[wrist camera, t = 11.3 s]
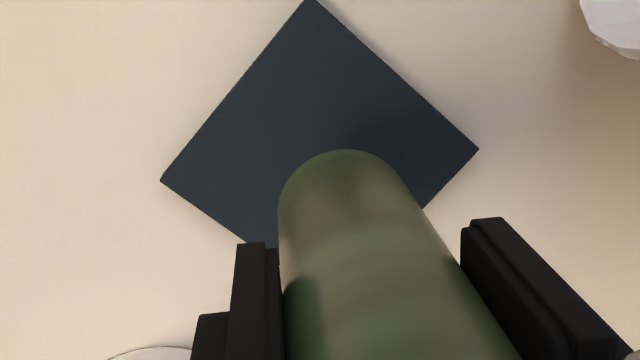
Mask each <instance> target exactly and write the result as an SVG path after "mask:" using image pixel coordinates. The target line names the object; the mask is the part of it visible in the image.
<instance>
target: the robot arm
mask: <svg viewBox="0 0 640 360" xmlns="http://www.w3.org/2000/svg"><path fill="white" fill-rule="evenodd" d="M460 267H461V268H462V270H463V271H464V273H465V274H466V276H467V277H468V279H469V280H470V282H471V283H472V285H473V286H474V288H475V289H476V291H477V292H478V294H479V295H480V297H481V298H482V300H483V301H484V302H485V304H486V305H487V307H488V308H489V310H490V311H491V313H492V314H493V316H494V317H495V319H496V320H497V322H498V323H499V325H500V326H501V328H502V329H503V331H504V332H505V334H506V335H507V337H508V338H509V340H510V341H511V342H512V344H513V345H514V347H515V348H516V350H517V351H518V353H519V354H520V356H521V357H522V359H523V360H640V350H638V351H635V352H634V351H633V350H632V349H631V348H630V347H629V346H628V345H627V344H626V343H625V342H624V341H623V340H622V339H621V338H620V337H619V336H618V334H617V333H616V332H615V331H614V330H613V329H612V328H611V327H610V326H609V325H608V324H607V323H606V322H605V321H604V320H603V319H602V318H601V317H600V316H599V315H598V314H597V313H596V312H595V311H594V310H593V309H592V308H591V307H590V306H589V305H588V304H587V303H586V302H585V301H584V300H583V299H582V298H581V297H580V296H579V295H578V294H577V293H576V292H575V291H574V290H573V289H572V288H571V287H570V286H569V285H568V284H567V283H566V282H565V281H564V280H563V279H562V278H561V277H560V276H559V275H558V274H557V273H556V272H555V271H554V270H553V269H552V268H551V267H550V266H549V265H548V264H547V263H546V261H545V260H544V259H543V258H542V257H541V256H540V255H539V254H538V253H537V252H536V251H535V250H534V249H533V248H532V247H531V246H530V245H529V244H528V243H527V242H526V241H525V240H524V239H523V238H522V237H521V236H520V235H519V234H518V233H517V232H516V231H515V230H514V229H513V228H512V227H511V226H510V225H509V224H508V223H507V222H506V221H505V220H504V219H503V218H502V217H492V218H483V219H473V220H471V222H470V225H469V227H465V228H462V230H461V243H460ZM190 360H285V340H284V320H283V299H282V288H281V279H280V270H279V261H278V252H277V247H276V248H266V242H265V241H263V242H254V243H244V244H237V251H236V260H235V268H234V277H233V286H232V295H231V304H230V311H229V312H220V313H211V314H202V315H200V316H199V318H198V322H197V327H196V332H195V337H194V342H193V347H192V352H191V357H190Z"/></svg>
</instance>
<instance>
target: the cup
mask: <svg viewBox="0 0 640 360" xmlns="http://www.w3.org/2000/svg"><path fill="white" fill-rule="evenodd" d="M580 6H581V9H582V11H583V14H584V16H585V19H586V21H587V24H588V26H589V29H590V31H591V33H592V34H593V36H594V37H595V38H596V40H597V41H599V42H600V43H602V44H604V45H605V46H607V47H609V48H610V49H612V50H614V51H615V52H617V53H619V54H620V55H622V56H624V57H626V58H633V59H639V60H640V0H580Z"/></svg>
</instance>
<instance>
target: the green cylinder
mask: <svg viewBox="0 0 640 360" xmlns="http://www.w3.org/2000/svg"><path fill="white" fill-rule="evenodd" d="M277 213H278V237H279V259H280V279H281V288H282V299H283V320H284V340H285V360H523V359H522V357H521V356H520V354H519V353H518V351H517V350H516V348H515V347H514V345H513V344H512V342H511V341H510V340H509V338H508V337H507V335H506V334H505V332H504V331H503V329H502V328H501V326H500V325H499V323H498V322H497V320H496V319H495V317H494V316H493V314H492V313H491V311H490V310H489V308H488V307H487V305H486V304H485V302H484V301H483V300H482V298H481V297H480V295H479V294H478V292H477V291H476V289H475V288H474V286H473V285H472V283H471V282H470V280H469V279H468V277H467V276H466V274H465V273H464V271H463V270H462V268H461V267H460V265H459V264H458V262H457V261H456V260H455V258H454V257H453V255H452V254H451V252H450V251H449V249H448V248H447V246H446V245H445V243H444V242H443V240H442V239H441V237H440V236H439V234H438V233H437V231H436V230H435V228H434V227H433V225H432V224H431V222H430V221H429V220H428V218H427V217H426V215H425V214H424V212H423V211H422V209H421V208H420V206H419V205H418V203H417V202H416V200H415V199H414V197H413V196H412V194H411V193H410V191H409V190H408V188H407V187H406V185H405V184H404V183H403V181H402V180H401V178H400V177H399V175H398V174H397V173H396V171H395V170H394V169H393V168H392V167H391V166H390V165H389V164H388V163H386V162H385V161H384V160H382V159H381V158H379V157H377V156H375V155H373V154H370V153H367V152H364V151H360V150H352V149H339V150H333V151H329V152H325V153H322V154H320V155H317V156H315V157H313V158H311V159H310V160H308V161H306V162H305V163H304V164H302V165H301V166H300V167H299V168H298V169H297V170H296V171H295V172H294V173H293V174H292V175H291V176H290V178H289V179H288V180H287V182H286V184H285V186H284V187H283V190H282V192H281V195H280V198H279V202H278V211H277Z"/></svg>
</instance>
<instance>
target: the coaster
mask: <svg viewBox="0 0 640 360" xmlns="http://www.w3.org/2000/svg"><path fill="white" fill-rule="evenodd" d="M339 149H352V150H360V151H364V152H367V153H370V154H373V155H375V156H377V157H379V158H381V159H382V160H384V161H385V162H386V163H388V164H389V165H390V166H391V167H392V168H393V169H394V170H395V171H396V173H397V174H398V175H399V177H400V178H401V180H402V181H403V183H404V184H405V185H406V187H407V188H408V190H409V191H410V193H411V194H412V196H413V197H414V199H415V200H416V202H417V203H418V205H419V206H420V208H421V209H423V208H424V207H425V206H426V205H427V204H428V203H429V202H430V201H431V200H432V199H433V198H434V197H435V195H436V194H437V193H438V192H439V191H440V190H441V189H442V188H443V187H444V186H445V185H446V184H447V183H448V182H449V181H450V180H451V179H452V178H453V177H454V176H455V175H456V173H457V172H458V171H459V170H460V169H461V168H462V167H463V166H464V165H465V164H466V163H467V162H468V161H469V160H470V159H471V158H472V157H473V156H474V155H475V154H476V153H477V151H478V150H479V148H478V147H477V146H476V145H475V144H474V143H473V142H472V141H470V140H469V139H468V138H467V137H466V136H465V135H464V134H463V133H462V132H461V131H459V130H458V129H457V128H456V127H455V126H454V125H453V124H452V123H451V122H450V121H448V120H447V119H446V118H445V117H444V116H443V115H442V114H441V113H440V112H439V111H437V110H436V109H435V108H434V107H433V106H432V105H431V104H430V103H429V102H427V101H426V100H425V99H424V98H423V97H422V96H421V95H420V94H419V93H418V92H416V91H415V90H414V89H413V88H412V87H411V86H410V85H409V84H408V83H407V82H405V81H404V80H403V79H402V78H401V77H400V76H399V75H398V74H397V73H396V72H394V71H393V70H392V69H391V68H390V67H389V66H388V65H387V64H386V63H384V62H383V61H382V60H381V59H380V58H379V57H378V56H377V55H376V54H375V53H373V52H372V51H371V50H370V49H369V48H368V47H367V46H366V45H365V44H364V43H362V42H361V41H360V40H359V39H358V38H357V37H356V36H355V35H354V34H353V33H351V32H350V31H349V30H348V29H347V28H346V27H345V26H344V25H343V24H341V23H340V22H339V21H338V20H337V19H336V18H335V17H334V16H333V15H332V14H330V13H329V12H328V11H327V10H326V9H325V8H324V7H323V6H322V5H321V4H319V3H318V2H317V1H316V0H304V1H303V2H302V3H301V4H300V6H299V7H298V8H297V9H296V11H295V12H294V13H293V14H292V16H291V17H290V18H289V19H288V20H287V22H286V23H285V24H284V25H283V27H282V28H281V29H280V30H279V32H278V33H277V34H276V35H275V37H274V38H273V39H272V40H271V41H270V43H269V44H268V45H267V46H266V48H265V49H264V50H263V51H262V53H261V54H260V55H259V56H258V58H257V59H256V60H255V61H254V62H253V64H252V65H251V66H250V67H249V69H248V70H247V71H246V72H245V74H244V75H243V76H242V77H241V78H240V80H239V81H238V82H237V83H236V85H235V86H234V87H233V88H232V90H231V91H230V92H229V93H228V95H227V96H226V97H225V98H224V99H223V101H222V102H221V103H220V104H219V106H218V107H217V108H216V109H215V111H214V112H213V113H212V114H211V116H210V117H209V118H208V119H207V120H206V122H205V123H204V124H203V125H202V127H201V128H200V129H199V130H198V132H197V133H196V134H195V135H194V136H193V138H192V139H191V140H190V141H189V143H188V144H187V145H186V146H185V148H184V149H183V150H182V151H181V153H180V154H179V155H178V156H177V157H176V159H175V160H174V161H173V162H172V164H171V165H170V166H169V167H168V169H167V170H166V171H165V172H164V174H163V175H162V177H161V179H160V182H161V183H163V184H164V185H166V186H167V187H169V188H170V189H171V190H173V191H174V192H176V193H177V194H179V195H180V196H181V197H183V198H184V199H186V200H187V201H188V202H190V203H191V204H193V205H194V206H196V207H197V208H198V209H200V210H201V211H203V212H204V213H206V214H207V215H208V216H210V217H211V218H213V219H214V220H215V221H217V222H218V223H220V224H221V225H223V226H224V227H225V228H227V229H228V230H230V231H231V232H233V233H234V234H235V235H237V236H238V237H240V238H241V239H242V240H244V241H245V242H247V243H254V242H263V241H265V242H266V248H276V247H277V252H278V261H279V266H280V259H279V237H278V213H277V211H278V202H279V198H280V195H281V192H282V190H283V187H284V186H285V184H286V182H287V180H288V179H289V178H290V176H291V175H292V174H293V173H294V172H295V171H296V170H297V169H298V168H299V167H300V166H301V165H302V164H304V163H305V162H306V161H308V160H310V159H311V158H313V157H315V156H317V155H320V154H322V153H325V152H329V151H333V150H339Z"/></svg>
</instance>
